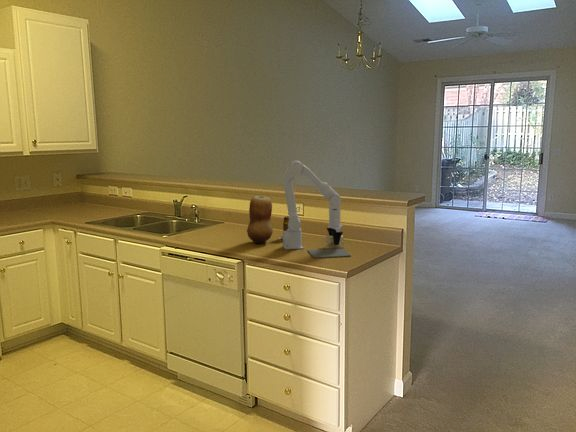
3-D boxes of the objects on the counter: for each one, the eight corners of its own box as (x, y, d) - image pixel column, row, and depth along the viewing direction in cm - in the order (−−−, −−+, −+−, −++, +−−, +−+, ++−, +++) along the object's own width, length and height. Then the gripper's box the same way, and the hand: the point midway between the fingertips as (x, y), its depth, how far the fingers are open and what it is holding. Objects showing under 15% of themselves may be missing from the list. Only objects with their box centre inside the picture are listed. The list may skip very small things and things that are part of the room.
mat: (314, 258, 231) (314, 257, 230) (307, 251, 244) (307, 250, 244) (351, 256, 234) (351, 255, 233) (342, 249, 247) (342, 248, 247)
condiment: (293, 239, 269) (293, 218, 267) (278, 239, 270) (278, 217, 268) (295, 236, 276) (295, 215, 274) (280, 236, 277) (280, 215, 275)
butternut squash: (269, 246, 255) (268, 198, 250) (244, 245, 257) (243, 197, 253) (275, 240, 268) (274, 194, 264) (251, 239, 271) (250, 194, 266)
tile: (326, 248, 249) (326, 237, 248) (325, 247, 252) (325, 235, 251) (343, 247, 251) (343, 236, 250) (341, 246, 254) (342, 235, 253)
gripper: (346, 219, 242) (346, 246, 245) (338, 214, 256) (338, 239, 259) (332, 219, 241) (332, 246, 243) (325, 214, 255) (325, 240, 258)
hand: (334, 243), depth 251 cm, fingers open, 7 cm apart
